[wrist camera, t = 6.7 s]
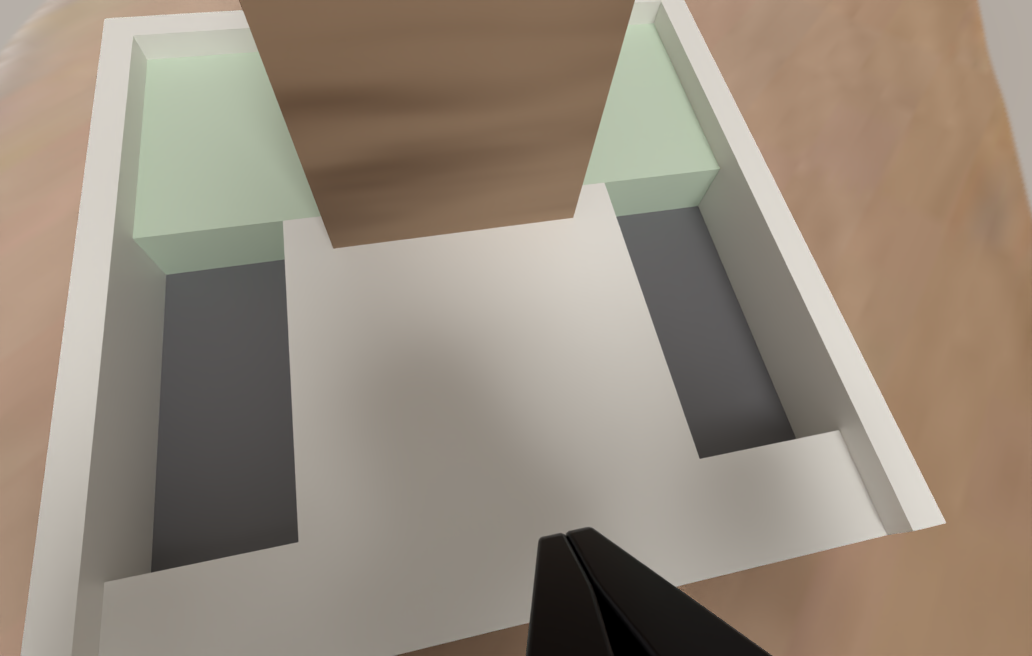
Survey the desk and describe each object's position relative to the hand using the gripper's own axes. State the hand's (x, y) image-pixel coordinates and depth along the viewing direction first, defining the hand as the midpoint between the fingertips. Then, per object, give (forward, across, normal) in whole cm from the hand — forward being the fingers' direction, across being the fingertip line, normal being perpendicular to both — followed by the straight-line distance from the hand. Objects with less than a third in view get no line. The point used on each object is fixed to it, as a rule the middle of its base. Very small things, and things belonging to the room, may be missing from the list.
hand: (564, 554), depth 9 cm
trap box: (+13, 0, -1) cm, 13 cm away
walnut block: (+15, 0, -6) cm, 16 cm away
